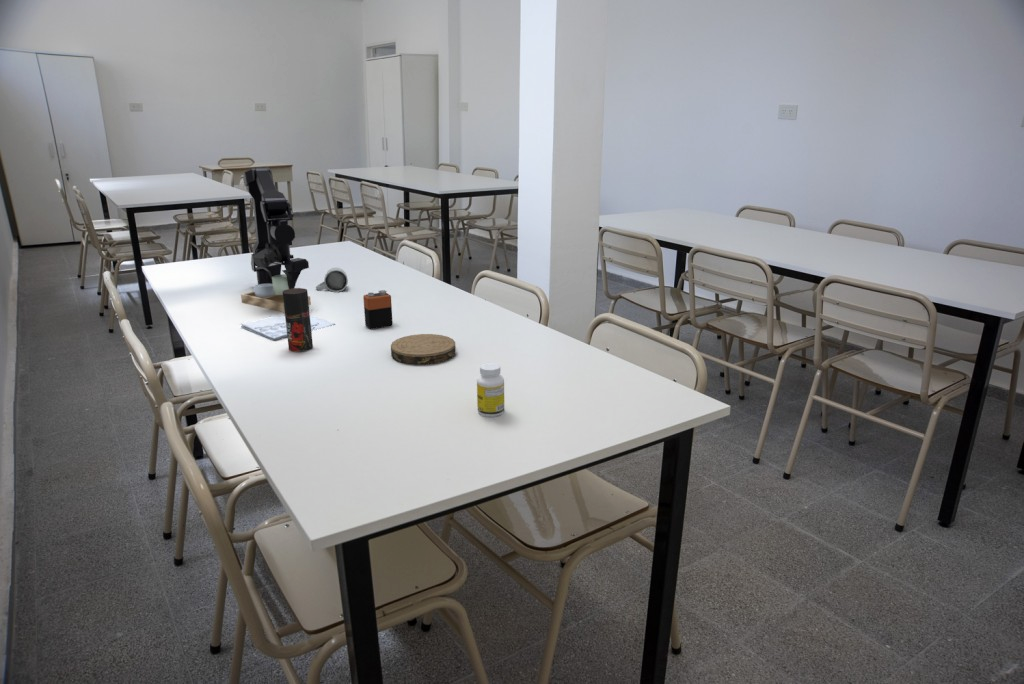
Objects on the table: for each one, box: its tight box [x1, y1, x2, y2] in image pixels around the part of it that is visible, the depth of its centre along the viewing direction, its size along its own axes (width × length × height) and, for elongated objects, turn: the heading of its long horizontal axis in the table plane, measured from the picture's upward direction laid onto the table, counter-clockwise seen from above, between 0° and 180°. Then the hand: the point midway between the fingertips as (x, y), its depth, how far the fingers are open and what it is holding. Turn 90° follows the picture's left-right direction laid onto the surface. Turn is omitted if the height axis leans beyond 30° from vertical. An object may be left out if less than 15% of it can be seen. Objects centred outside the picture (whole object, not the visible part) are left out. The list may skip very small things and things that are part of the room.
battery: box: [362, 289, 394, 330], centre depth 186 cm, size 4×7×10 cm, turn 121°
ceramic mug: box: [315, 267, 349, 293], centre depth 227 cm, size 11×8×8 cm
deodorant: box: [282, 287, 314, 353], centre depth 167 cm, size 6×6×15 cm
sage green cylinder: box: [272, 273, 296, 295], centre depth 205 cm, size 6×6×5 cm
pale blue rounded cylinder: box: [253, 283, 276, 298], centre depth 211 cm, size 6×6×5 cm
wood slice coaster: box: [390, 333, 457, 366], centre depth 165 cm, size 16×16×3 cm
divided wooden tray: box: [240, 291, 312, 313], centre depth 209 cm, size 20×10×3 cm, turn 56°
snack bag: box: [240, 314, 336, 341], centre depth 188 cm, size 19×20×2 cm
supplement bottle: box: [476, 362, 505, 418], centre depth 131 cm, size 5×5×10 cm
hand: (284, 289), depth 205 cm, fingers closed on sage green cylinder, 6 cm apart
